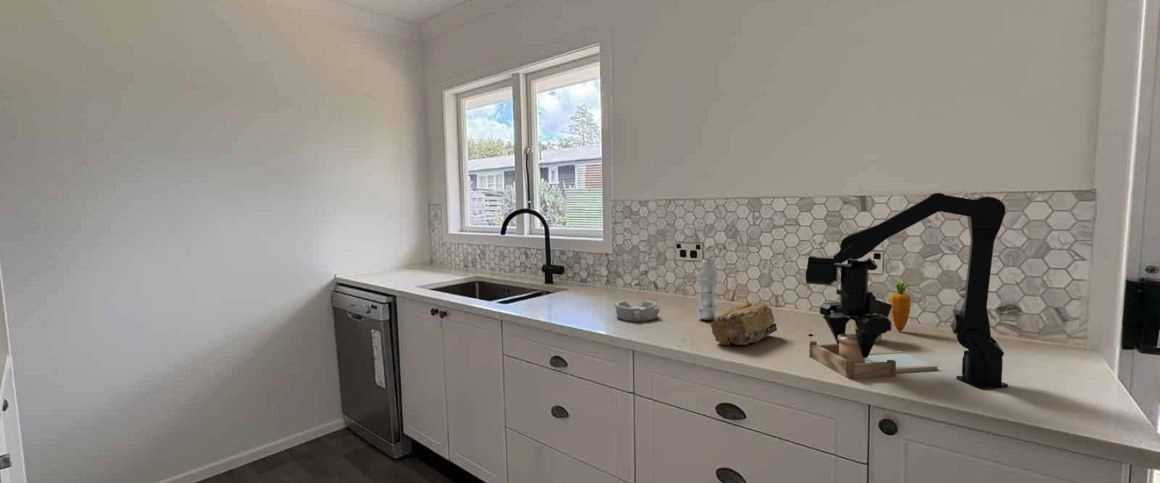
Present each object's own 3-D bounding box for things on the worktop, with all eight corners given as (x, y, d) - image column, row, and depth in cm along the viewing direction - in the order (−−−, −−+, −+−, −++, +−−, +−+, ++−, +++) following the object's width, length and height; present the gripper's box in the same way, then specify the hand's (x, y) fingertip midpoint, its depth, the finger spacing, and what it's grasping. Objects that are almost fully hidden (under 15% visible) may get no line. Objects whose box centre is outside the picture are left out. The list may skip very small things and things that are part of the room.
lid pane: (937, 369, 119) (937, 366, 119) (892, 372, 118) (893, 369, 118) (900, 354, 131) (900, 351, 131) (859, 356, 130) (859, 353, 130)
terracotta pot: (872, 369, 120) (873, 339, 120) (847, 370, 120) (848, 341, 119) (855, 361, 127) (856, 332, 126) (831, 362, 126) (832, 334, 125)
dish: (610, 315, 182) (610, 301, 181) (646, 311, 186) (646, 298, 185) (626, 324, 168) (626, 309, 167) (665, 320, 172) (665, 306, 171)
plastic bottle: (693, 319, 173) (693, 259, 171) (709, 316, 175) (709, 258, 174) (705, 323, 167) (705, 261, 165) (722, 320, 170) (722, 260, 168)
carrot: (891, 328, 155) (892, 279, 153) (910, 331, 152) (912, 280, 150) (888, 332, 151) (889, 281, 150) (908, 335, 148) (910, 283, 146)
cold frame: (895, 376, 116) (895, 358, 115) (849, 378, 115) (849, 361, 114) (850, 354, 132) (850, 338, 131) (809, 356, 131) (809, 341, 130)
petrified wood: (751, 351, 135) (742, 313, 136) (707, 352, 144) (699, 317, 145) (779, 332, 150) (772, 299, 150) (738, 335, 158) (731, 303, 159)
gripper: (915, 292, 113) (913, 362, 114) (860, 279, 132) (859, 339, 133) (867, 294, 112) (866, 365, 113) (819, 281, 130) (818, 341, 132)
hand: (852, 351), depth 123 cm, fingers open, 9 cm apart
